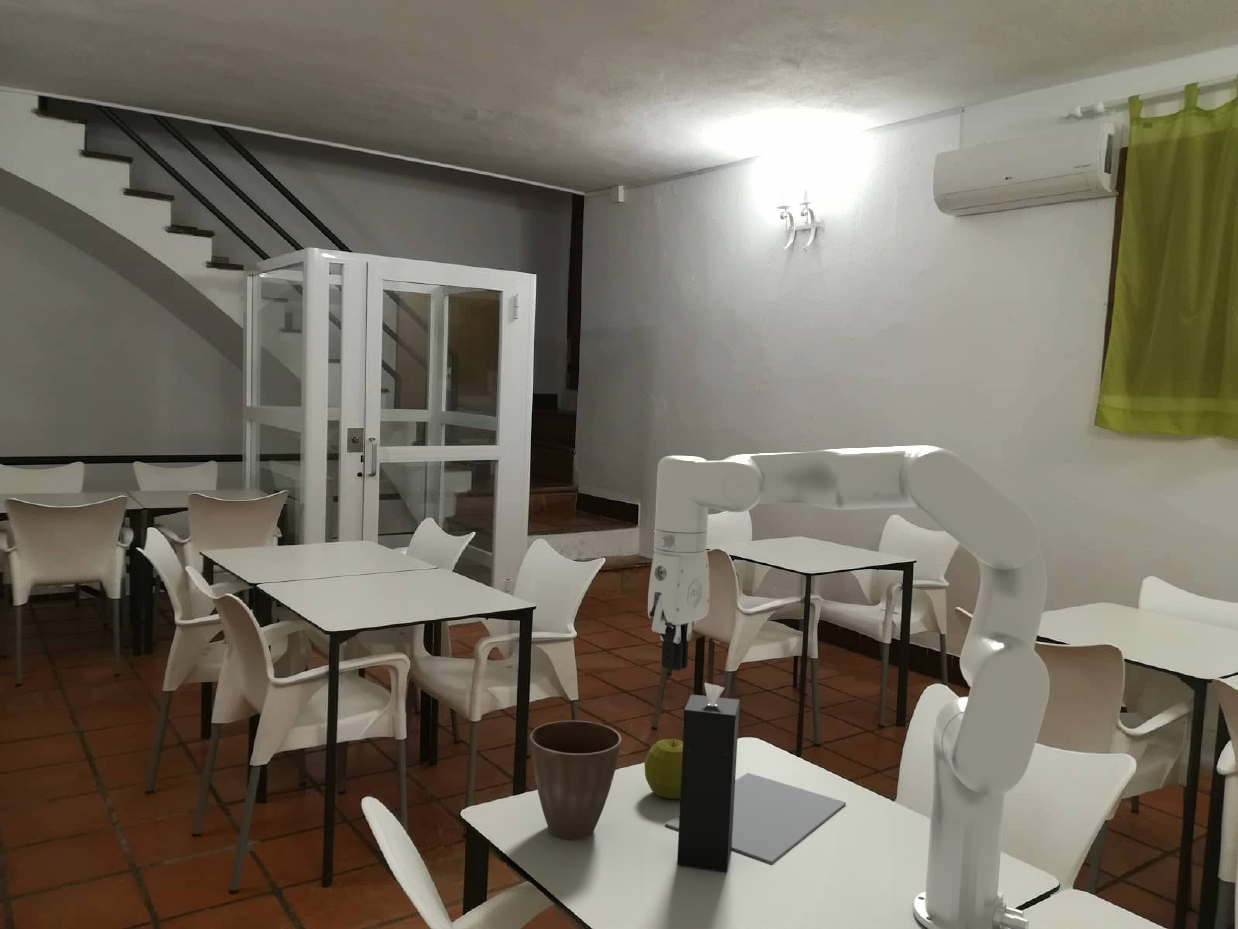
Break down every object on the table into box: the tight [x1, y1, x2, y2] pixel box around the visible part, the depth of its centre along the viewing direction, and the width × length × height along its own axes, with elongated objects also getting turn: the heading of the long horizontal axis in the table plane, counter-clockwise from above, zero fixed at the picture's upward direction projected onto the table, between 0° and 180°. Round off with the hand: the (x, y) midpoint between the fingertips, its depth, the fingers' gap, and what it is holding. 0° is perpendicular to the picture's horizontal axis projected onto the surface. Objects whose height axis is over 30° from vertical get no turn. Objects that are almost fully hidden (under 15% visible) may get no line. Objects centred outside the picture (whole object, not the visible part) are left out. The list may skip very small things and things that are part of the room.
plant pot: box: [529, 720, 622, 841], centre depth 158 cm, size 15×15×16 cm
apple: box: [644, 736, 683, 800], centre depth 174 cm, size 10×10×11 cm
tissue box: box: [676, 682, 741, 873], centre depth 150 cm, size 8×8×28 cm
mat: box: [664, 772, 847, 865], centre depth 168 cm, size 20×29×1 cm
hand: (674, 667), depth 140 cm, fingers closed
